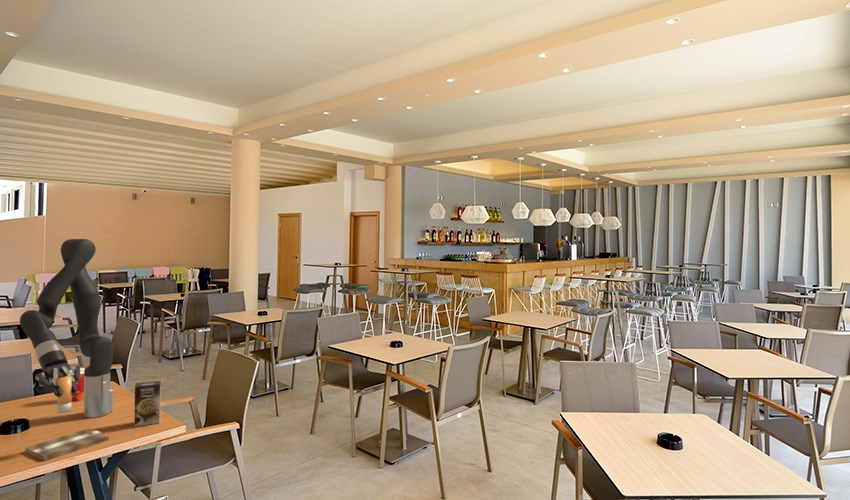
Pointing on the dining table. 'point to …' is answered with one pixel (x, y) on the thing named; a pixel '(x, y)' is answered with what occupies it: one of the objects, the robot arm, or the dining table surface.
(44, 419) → the dining table surface
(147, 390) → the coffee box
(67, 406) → the tan cylinder
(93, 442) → the board
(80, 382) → the paper cup
